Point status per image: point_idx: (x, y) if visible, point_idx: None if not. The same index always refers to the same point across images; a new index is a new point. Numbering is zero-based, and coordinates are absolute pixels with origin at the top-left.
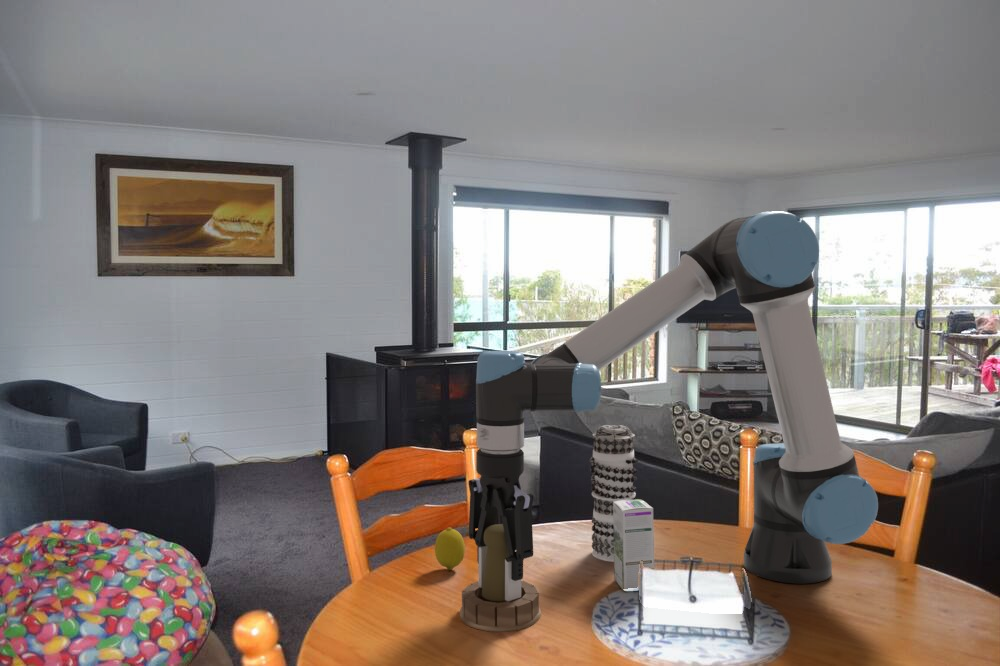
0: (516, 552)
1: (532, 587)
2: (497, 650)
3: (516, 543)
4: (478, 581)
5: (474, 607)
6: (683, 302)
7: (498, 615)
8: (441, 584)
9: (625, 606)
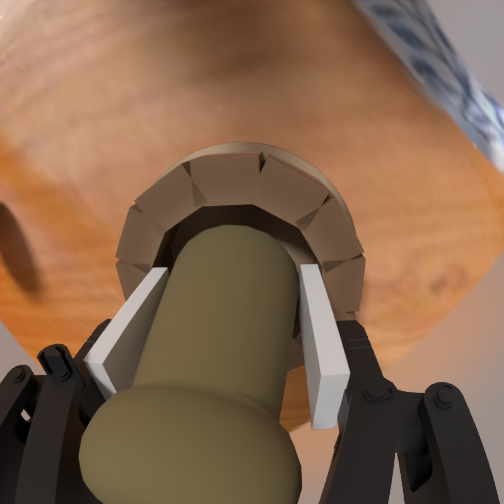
0: (399, 459)
1: (272, 173)
2: (377, 354)
3: (408, 497)
4: (123, 285)
5: None
6: None
7: None
8: (39, 262)
9: None
